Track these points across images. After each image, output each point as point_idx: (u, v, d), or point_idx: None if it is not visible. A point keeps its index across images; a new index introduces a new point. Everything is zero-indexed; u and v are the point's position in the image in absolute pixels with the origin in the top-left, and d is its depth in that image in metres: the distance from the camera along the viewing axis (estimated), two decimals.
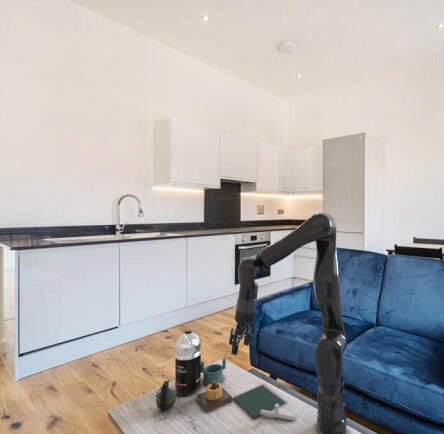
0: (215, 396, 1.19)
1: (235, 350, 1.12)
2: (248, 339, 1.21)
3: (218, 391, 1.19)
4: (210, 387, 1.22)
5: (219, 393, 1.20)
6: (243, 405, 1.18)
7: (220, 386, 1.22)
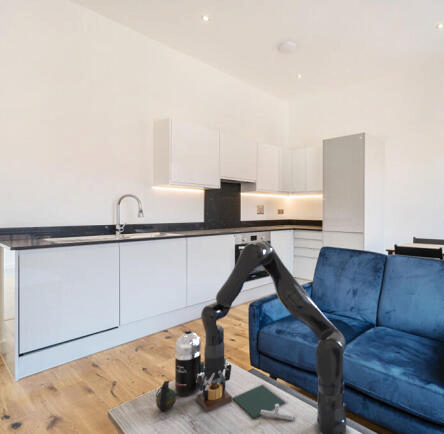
0: (215, 396, 1.19)
1: (205, 394, 1.18)
2: (222, 386, 1.23)
3: (218, 391, 1.19)
4: (210, 387, 1.22)
5: (219, 393, 1.20)
6: (243, 405, 1.18)
7: (220, 386, 1.22)
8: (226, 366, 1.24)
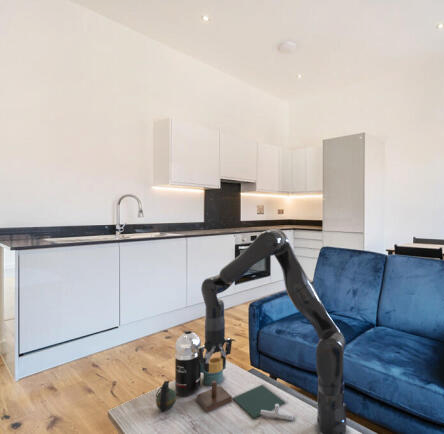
0: (216, 369, 1.19)
1: (205, 367, 1.18)
2: None
3: (219, 364, 1.19)
4: (211, 361, 1.22)
5: (220, 366, 1.20)
6: (243, 405, 1.18)
7: (221, 360, 1.21)
8: (226, 340, 1.24)
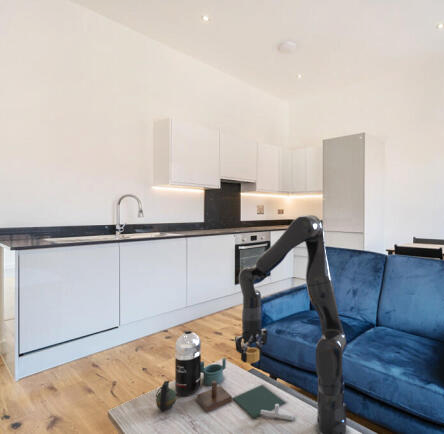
0: (254, 359, 1.18)
1: (243, 357, 1.18)
2: (259, 350, 1.23)
3: (256, 354, 1.19)
4: (247, 351, 1.22)
5: (257, 356, 1.19)
6: (243, 405, 1.18)
7: (257, 350, 1.21)
8: (263, 331, 1.24)
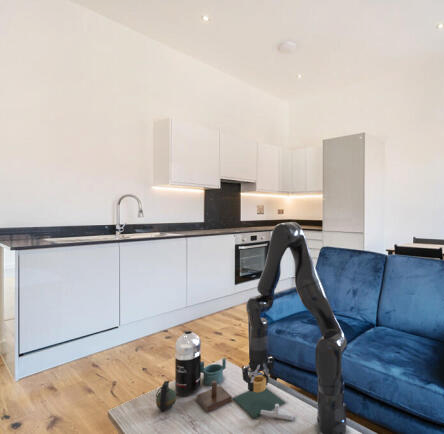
0: (260, 388, 1.19)
1: (250, 387, 1.18)
2: None
3: (263, 383, 1.19)
4: (254, 379, 1.22)
5: (264, 385, 1.20)
6: (243, 405, 1.18)
7: (264, 378, 1.22)
8: (269, 359, 1.24)
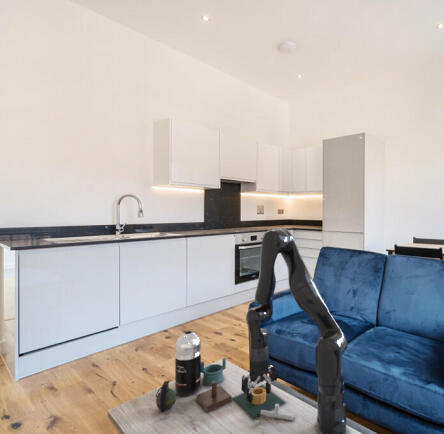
0: (260, 400, 1.19)
1: (248, 397, 1.17)
2: (268, 387, 1.23)
3: (263, 396, 1.19)
4: (254, 391, 1.22)
5: (264, 398, 1.20)
6: (243, 405, 1.18)
7: (264, 390, 1.22)
8: (270, 368, 1.24)
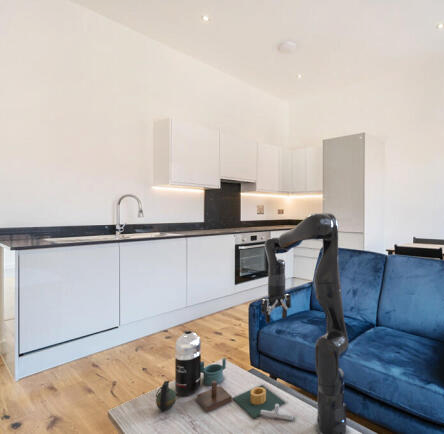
0: (260, 400, 1.19)
1: (267, 318, 1.29)
2: (284, 313, 1.35)
3: (263, 396, 1.19)
4: (254, 391, 1.22)
5: (264, 398, 1.20)
6: (243, 405, 1.18)
7: (264, 390, 1.22)
8: (286, 296, 1.36)
